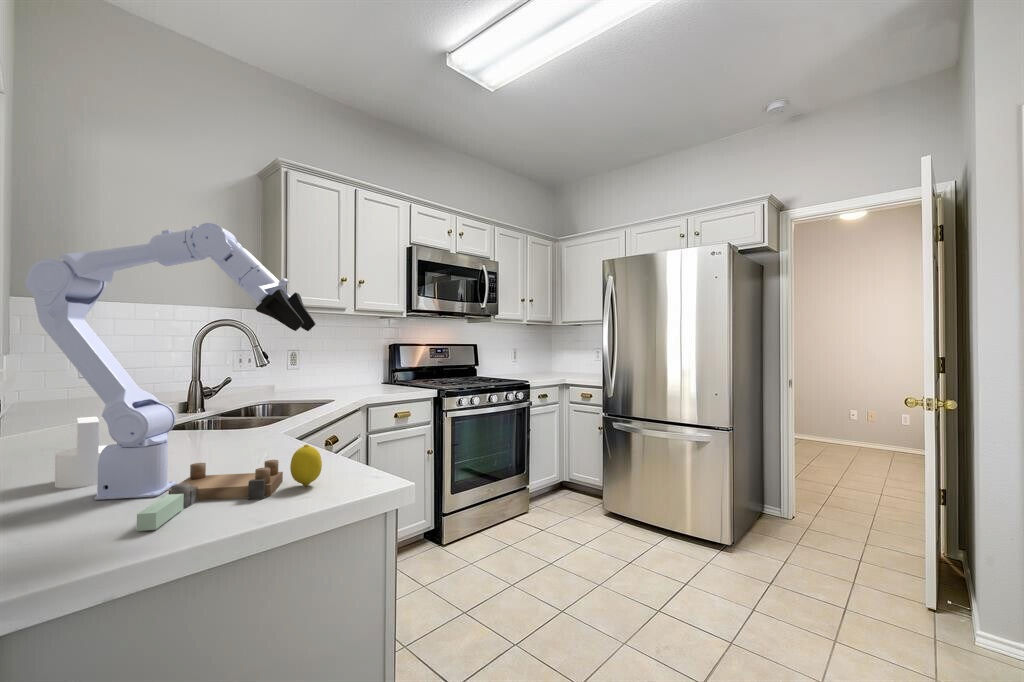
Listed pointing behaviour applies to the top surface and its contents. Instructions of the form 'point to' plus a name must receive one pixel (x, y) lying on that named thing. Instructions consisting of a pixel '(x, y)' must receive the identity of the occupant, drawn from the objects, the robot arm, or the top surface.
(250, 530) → the top surface
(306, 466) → the lemon
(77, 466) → the base with upright slab
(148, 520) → the pale green bar
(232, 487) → the stool seat
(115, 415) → the robot arm
